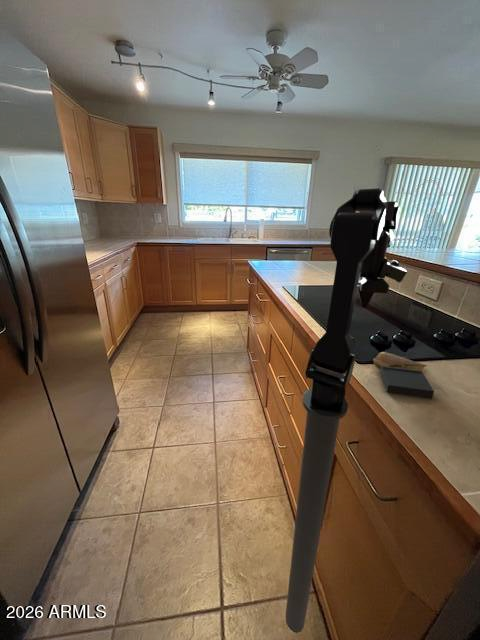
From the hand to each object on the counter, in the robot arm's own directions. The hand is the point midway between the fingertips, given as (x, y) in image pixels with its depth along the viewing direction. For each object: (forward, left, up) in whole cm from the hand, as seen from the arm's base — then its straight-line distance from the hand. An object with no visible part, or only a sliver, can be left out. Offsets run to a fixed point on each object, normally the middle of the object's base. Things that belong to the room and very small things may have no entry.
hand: (364, 307), depth 76 cm
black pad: (+8, -19, -12) cm, 24 cm away
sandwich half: (+8, -10, -12) cm, 17 cm away
